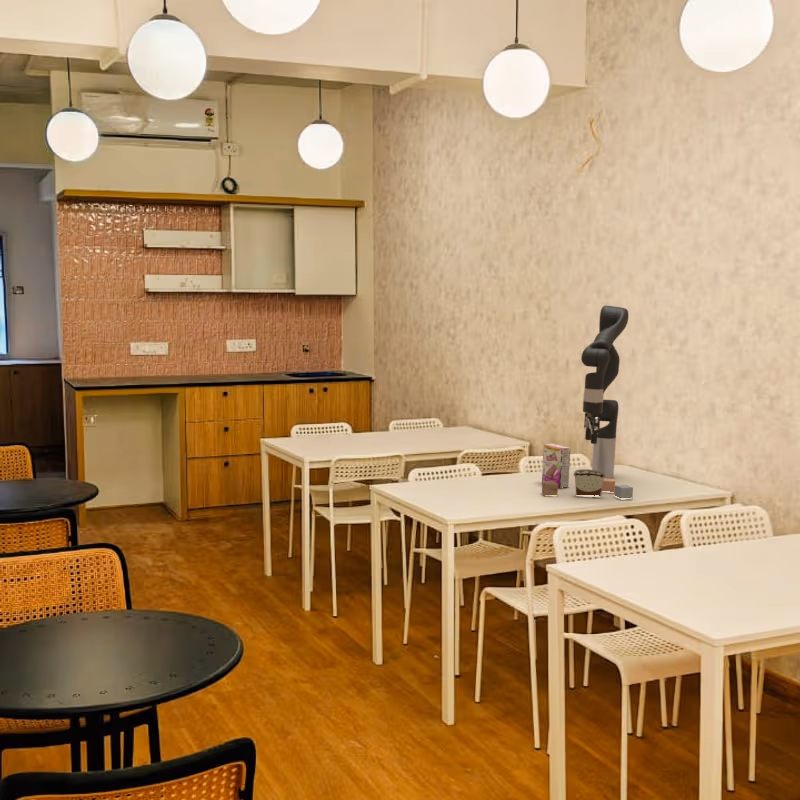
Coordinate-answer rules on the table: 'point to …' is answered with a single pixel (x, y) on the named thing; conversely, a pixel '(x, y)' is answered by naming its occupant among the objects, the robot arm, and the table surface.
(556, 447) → the candy bar box
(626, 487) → the slate grey block
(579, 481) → the food container
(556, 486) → the walnut block
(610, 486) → the terracotta block
